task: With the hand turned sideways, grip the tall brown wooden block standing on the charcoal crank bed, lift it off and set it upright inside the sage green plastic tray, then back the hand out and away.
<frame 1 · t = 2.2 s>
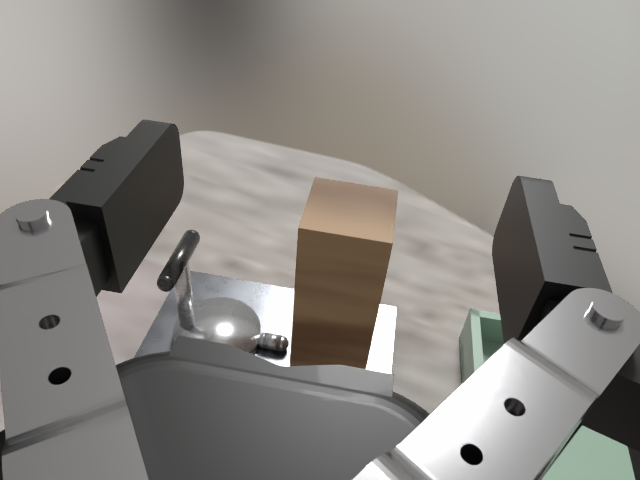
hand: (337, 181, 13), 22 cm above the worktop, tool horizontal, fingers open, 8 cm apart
tray: (560, 429, 33), on the worktop
brown wooden block: (330, 357, 35), point 1 cm above the worktop, touching crank bed
crank bed: (269, 355, 36), on the worktop
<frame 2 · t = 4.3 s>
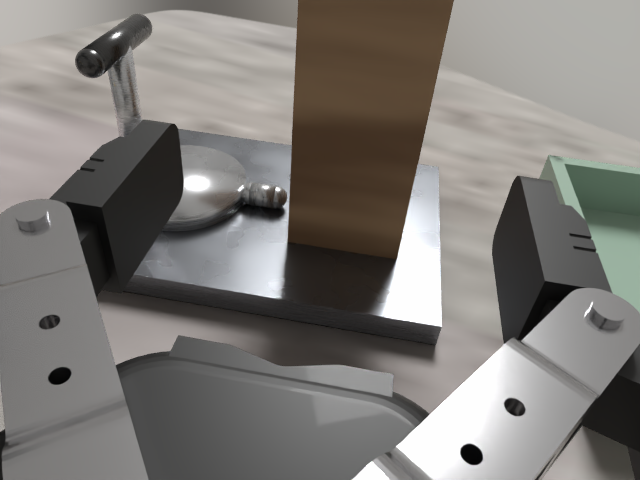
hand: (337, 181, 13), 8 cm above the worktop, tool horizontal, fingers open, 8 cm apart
brown wooden block: (348, 217, 23), point 1 cm above the worktop, touching crank bed
crank bed: (259, 221, 24), on the worktop
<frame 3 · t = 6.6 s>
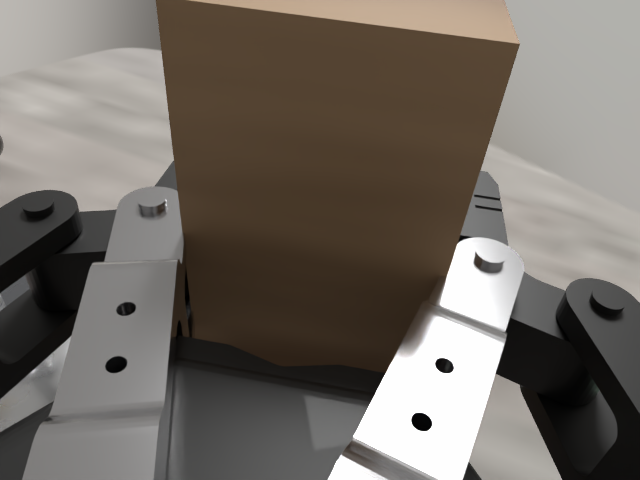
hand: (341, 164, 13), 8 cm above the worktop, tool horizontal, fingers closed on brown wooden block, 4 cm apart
brown wooden block: (307, 413, 16), point 1 cm above the worktop, touching crank bed, gripper
crank bed: (180, 407, 17), on the worktop
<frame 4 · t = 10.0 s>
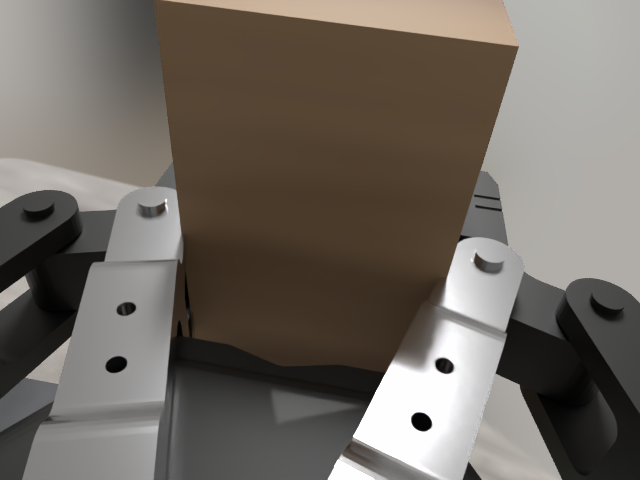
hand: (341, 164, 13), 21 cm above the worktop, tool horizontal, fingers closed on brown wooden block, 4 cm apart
brown wooden block: (307, 414, 16), point 14 cm above the worktop, touching gripper
when the fingers open (9 cm above the worktop, at t = 13.4 s): brown wooden block stays where it is, resting on tray.
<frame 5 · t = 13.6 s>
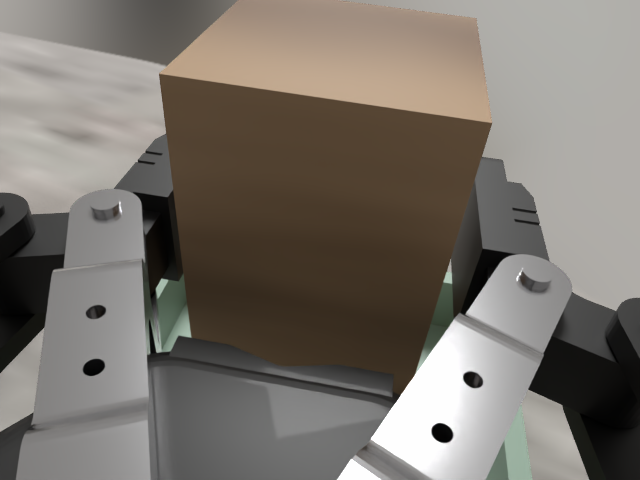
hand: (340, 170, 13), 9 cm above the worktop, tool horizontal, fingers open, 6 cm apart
tray: (303, 445, 17), on the worktop
brown wooden block: (304, 433, 16), point 1 cm above the worktop, touching tray
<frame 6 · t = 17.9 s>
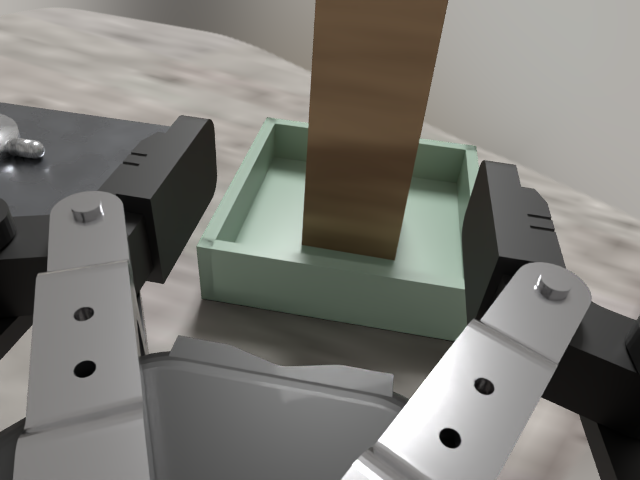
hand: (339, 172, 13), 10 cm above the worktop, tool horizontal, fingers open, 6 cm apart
tray: (352, 236, 28), on the worktop
brown wooden block: (353, 224, 27), point 1 cm above the worktop, touching tray
crank bed: (29, 171, 30), on the worktop
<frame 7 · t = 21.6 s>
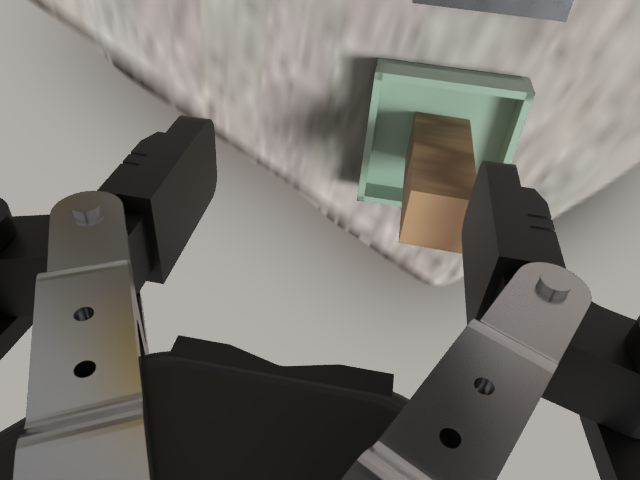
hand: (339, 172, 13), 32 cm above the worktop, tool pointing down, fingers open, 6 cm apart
tray: (437, 135, 46), on the worktop
brown wooden block: (436, 139, 46), point 1 cm above the worktop, touching tray
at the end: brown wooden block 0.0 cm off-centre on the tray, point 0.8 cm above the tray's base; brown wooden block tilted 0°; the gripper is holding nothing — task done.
